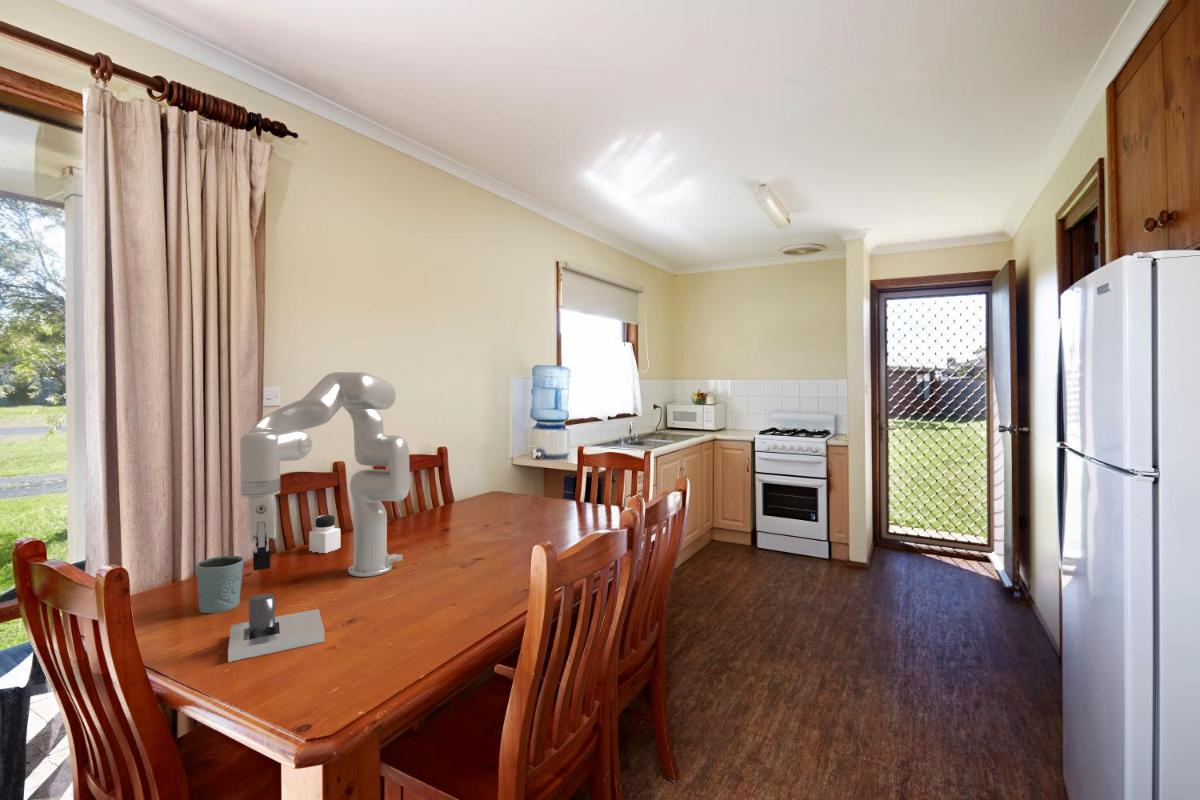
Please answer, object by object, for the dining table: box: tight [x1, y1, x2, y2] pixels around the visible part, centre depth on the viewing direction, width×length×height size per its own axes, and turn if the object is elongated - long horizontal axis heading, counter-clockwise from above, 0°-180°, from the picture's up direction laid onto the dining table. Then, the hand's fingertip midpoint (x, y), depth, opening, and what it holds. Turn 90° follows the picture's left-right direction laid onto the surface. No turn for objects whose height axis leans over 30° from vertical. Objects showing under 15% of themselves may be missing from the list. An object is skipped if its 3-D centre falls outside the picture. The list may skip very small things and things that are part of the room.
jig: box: [227, 608, 325, 663], centre depth 124 cm, size 18×14×2 cm
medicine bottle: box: [308, 514, 342, 554], centre depth 190 cm, size 7×7×12 cm
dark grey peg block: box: [248, 593, 276, 640], centre depth 123 cm, size 5×5×10 cm
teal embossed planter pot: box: [195, 555, 245, 614], centre depth 141 cm, size 10×10×12 cm
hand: (261, 568), depth 122 cm, fingers closed
